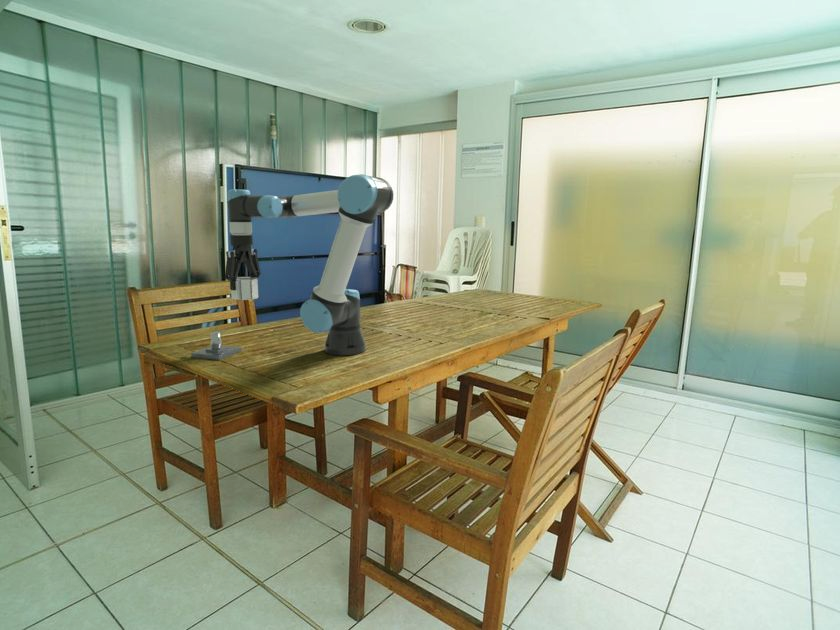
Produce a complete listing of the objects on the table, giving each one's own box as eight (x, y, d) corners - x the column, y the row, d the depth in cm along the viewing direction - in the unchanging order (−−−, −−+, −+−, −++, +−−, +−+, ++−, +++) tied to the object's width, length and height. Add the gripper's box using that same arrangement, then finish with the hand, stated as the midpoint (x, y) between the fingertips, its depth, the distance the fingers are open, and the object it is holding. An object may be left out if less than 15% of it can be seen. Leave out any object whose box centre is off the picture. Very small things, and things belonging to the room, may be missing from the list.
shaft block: (241, 351, 183) (240, 330, 181) (219, 360, 172) (217, 337, 170) (215, 348, 186) (213, 328, 185) (191, 357, 175) (189, 335, 174)
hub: (263, 296, 182) (262, 277, 181) (247, 300, 174) (245, 280, 173) (243, 294, 185) (242, 276, 184) (226, 298, 177) (225, 279, 176)
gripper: (252, 232, 186) (255, 291, 191) (210, 235, 166) (214, 301, 171) (269, 233, 184) (271, 293, 188) (228, 235, 164) (232, 302, 168)
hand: (244, 296), depth 180 cm, fingers closed on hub, 9 cm apart
